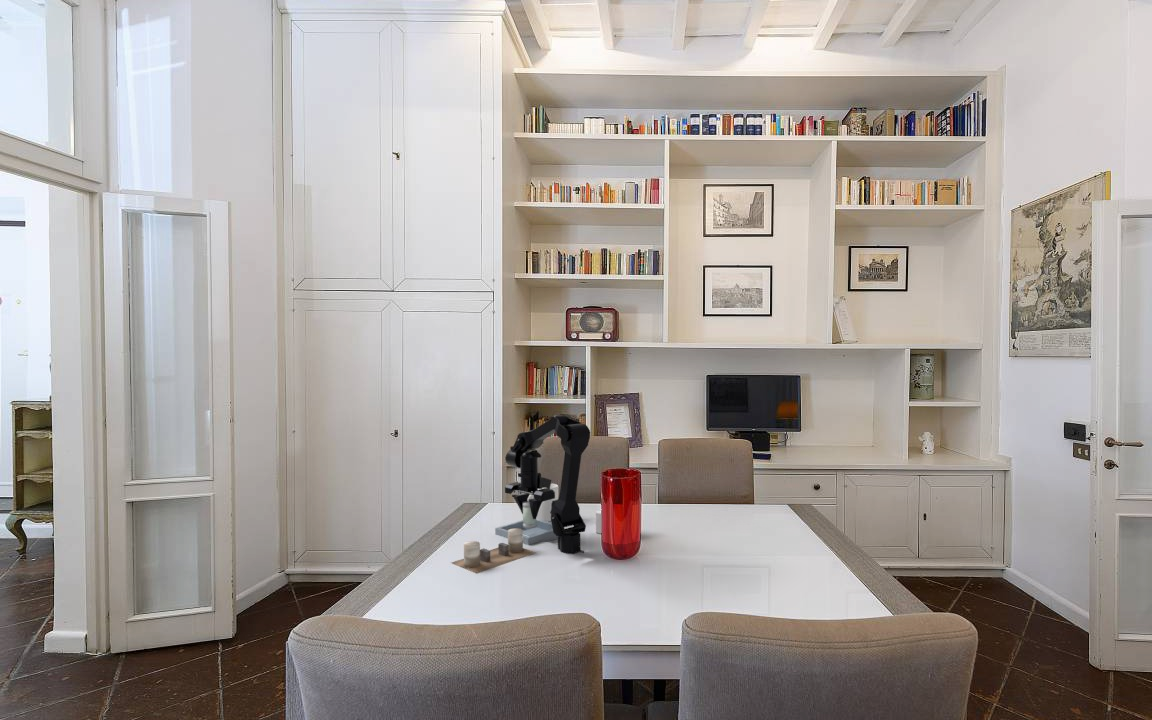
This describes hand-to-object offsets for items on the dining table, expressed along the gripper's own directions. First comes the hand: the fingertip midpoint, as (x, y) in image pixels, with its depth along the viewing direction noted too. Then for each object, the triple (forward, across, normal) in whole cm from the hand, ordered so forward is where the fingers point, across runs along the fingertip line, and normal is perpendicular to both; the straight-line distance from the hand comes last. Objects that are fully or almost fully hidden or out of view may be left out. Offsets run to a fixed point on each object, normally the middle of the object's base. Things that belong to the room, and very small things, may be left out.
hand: (529, 517), depth 189 cm
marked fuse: (+3, 0, 0) cm, 3 cm away
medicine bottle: (+7, -17, -21) cm, 28 cm away
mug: (+6, +12, -17) cm, 22 cm away
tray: (+6, 0, 0) cm, 6 cm away
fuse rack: (+6, -9, +22) cm, 25 cm away
